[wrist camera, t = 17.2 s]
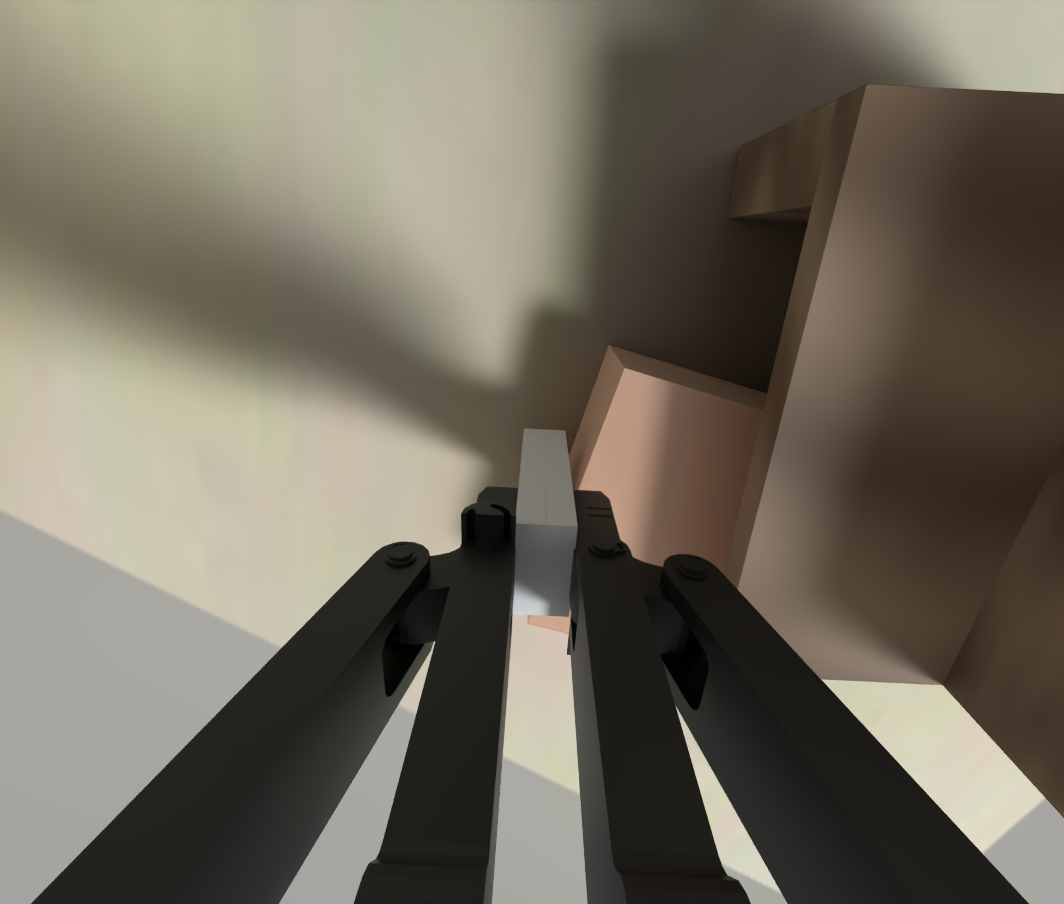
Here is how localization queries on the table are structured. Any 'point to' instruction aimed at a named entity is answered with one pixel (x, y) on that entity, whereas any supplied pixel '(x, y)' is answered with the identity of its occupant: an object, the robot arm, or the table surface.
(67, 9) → the table surface
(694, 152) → the table surface
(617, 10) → the table surface
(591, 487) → the pink rectangular block
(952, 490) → the desk shelf
